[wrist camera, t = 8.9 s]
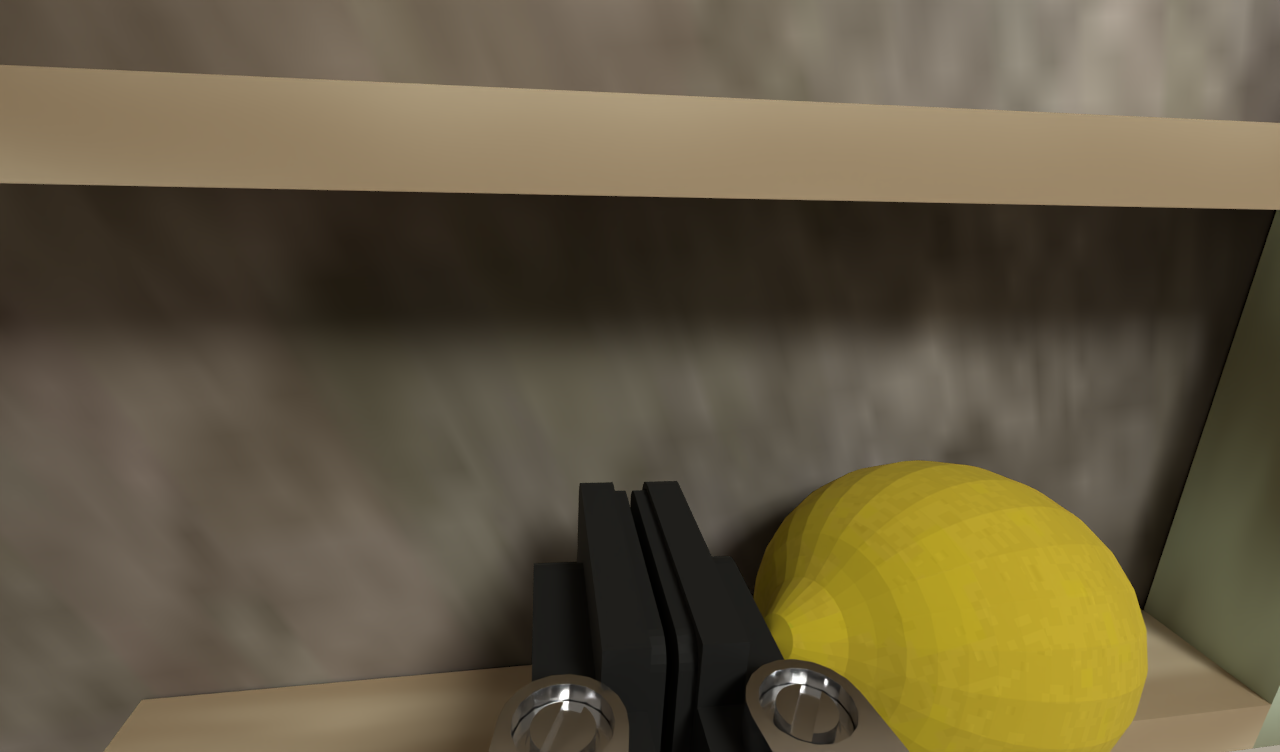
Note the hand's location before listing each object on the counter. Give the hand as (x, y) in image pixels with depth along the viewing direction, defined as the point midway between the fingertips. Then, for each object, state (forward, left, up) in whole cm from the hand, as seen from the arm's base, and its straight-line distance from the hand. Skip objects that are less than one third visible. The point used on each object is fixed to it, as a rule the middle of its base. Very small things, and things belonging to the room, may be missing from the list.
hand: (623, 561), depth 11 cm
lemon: (0, +2, +2) cm, 3 cm away
